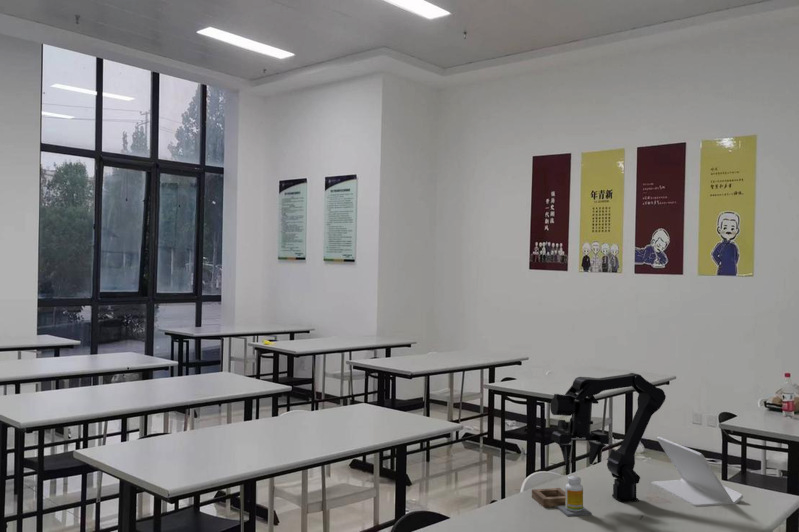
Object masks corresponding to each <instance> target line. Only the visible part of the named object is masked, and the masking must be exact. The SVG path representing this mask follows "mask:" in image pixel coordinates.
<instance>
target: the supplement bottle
mask: <svg viewBox="0 0 799 532" xmlns="http://www.w3.org/2000/svg"><path fill="white" fill-rule="evenodd" d="M581 482H582V479H581V477H579V476H575V475H574V476H573V475H571V476H568V477H567V483H566V484H565V488H564V489H565V490H564V491H565V507H566V509H567V510H570V511H574V512H578V511H582V510H583V507H584V487H583V485H582V484H581Z"/></svg>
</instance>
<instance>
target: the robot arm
mask: <svg viewBox="0 0 799 532" xmlns="http://www.w3.org/2000/svg"><path fill="white" fill-rule="evenodd" d="M631 387H632V389H633V390H634V391H635V392H636V393H637V394H638V396H637V410H636V412H635V413H634V416H633V418H632V421H631V423H630V425H629V427H628V429H627V432H626V434H625V435H624V438H623V440H622V443H621V445H620V446H619V447H618V448H617V449H613V448H611V450H610V453H609V456H608V457H607V458H606V461H607V463H606V467H607V470H608V471H609V472H610V473H611V476H612V477H613V479H614V483H613V484H612V489H613V490H612V494H611V496H612V497H613V498H614V499H616V500H618V502H621V503H629V502H631V503H632V502H640V499H639V498H637V484H640V480H641V476H640V475H639V474H638V472H636V471H635V470H634V469H635V464H636V460H635V457H636V455H635V454H636V452H637V449H638V448H639V445H640V443H641V441H642V439H643V436H644V434H645V432H646V429H647V427H648V425H649V422H650V420H651V418H652V416H653V415H655V413H656V412H658V411H659V410H660V409H661V407H662V405H663V404H664V402H665V401H666V399H667V397H666V393H665V391H664V390H663V389H662V388H660V387H656V386H655V385H654V384H653V383H651V382H650V381H648V380H647V379H645V378H644V377H643V376H642V375H641V374H639V373H635V372H630V373H625V374H620V375H612V376H605V377H591V376H578V377H576V378H574V380H573V381H572V385H571V386H570V387H569V388H568V389H567V391H566V392H565V394H560V393H554V394H553V397H552V399H551V401H550V404H549V406H550V407H549V409H550V412H551V414H552V415H553V416H566V417H570V416H572V417H570V418H569V421H566V420H565V419H559V420H557V430H558V431H553V432H552V433H551V438H550V440H552V441H554V443H555V444H557V446H559V448H560V450H561V453H562V454H561V455H562V457H563V461H564V464H565V465H569V461H570V456H571V452H572V444H571V443H572V441H576V442H578V441H581V442H582V441H583V442H585V441H587V442H588V445H589V457H588V459H589V465H593V463H594V462H595V460H596V458H597V457H598V455H599V454H600V452H601V451H602V450H603V448H605V447H606V445H610V437H609V434H605V433H603V432H601V431H591V426H592V425H594V421H593V420H592V407H593V404H595V405H598V404H599V401H598V399H596V398H595V396H597V395H599V394H600V393H602V392H605V391H609V390H610V391H611V390H616V389H623V388H631Z"/></svg>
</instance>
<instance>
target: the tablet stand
mask: <svg viewBox="0 0 799 532" xmlns="http://www.w3.org/2000/svg"><path fill="white" fill-rule="evenodd" d="M656 440H657V441H658V443H659V445H660V446H661V448H662V449H663V451H664V453H665V454H666V455H667V457H668V459H669V460H670V462H671V463H672V464H673V467H674V468H675V469H676V471H677V472H678V474H679V475H680V478H679V479H672V480H671V479H670V480H656V481H655V480H654V481H651V485H653V486H655V487H657V488H658V489H661V490H663V491H665V492H667V493H669V494H670V495H672V496H674V497H675V498H678V499H680V500H682V501H684V502H686V503H687V504H689V505H691V506H693V507H709V506H723V505H735V504H738V503H739V502H740V501H741V500H742V499H744V496H743V494H742V493H740V492H738V491H736V490H734V489H732V488H730V487H727V486H726V485H723V483H722V482H721V480H720V479H719V477H718V476H717V474H716V473H715V471H714V470H713V467H712V466H711V465H710V464H709V462H708V460H707V458H706V457H705V455H704V454H703V453H701V452H699V451H696V450H694V449H691V448H689V447H687V446H684V445H681V444H679V443H676V442H674V441H671V440H669V439H666V438H664V437H661V436H659V435H658V436H657V437H656Z"/></svg>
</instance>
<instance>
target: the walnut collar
mask: <svg viewBox="0 0 799 532" xmlns="http://www.w3.org/2000/svg"><path fill="white" fill-rule="evenodd" d="M531 498H532V499H533V500H534V501H536V502H537V503H538V504H539V505H541V507H542V508H553V506H555V507H557V506H559V505H565V490H563V488H560V487H554V488H537V489H535V488H534V489H533V488H532V489H531Z"/></svg>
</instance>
